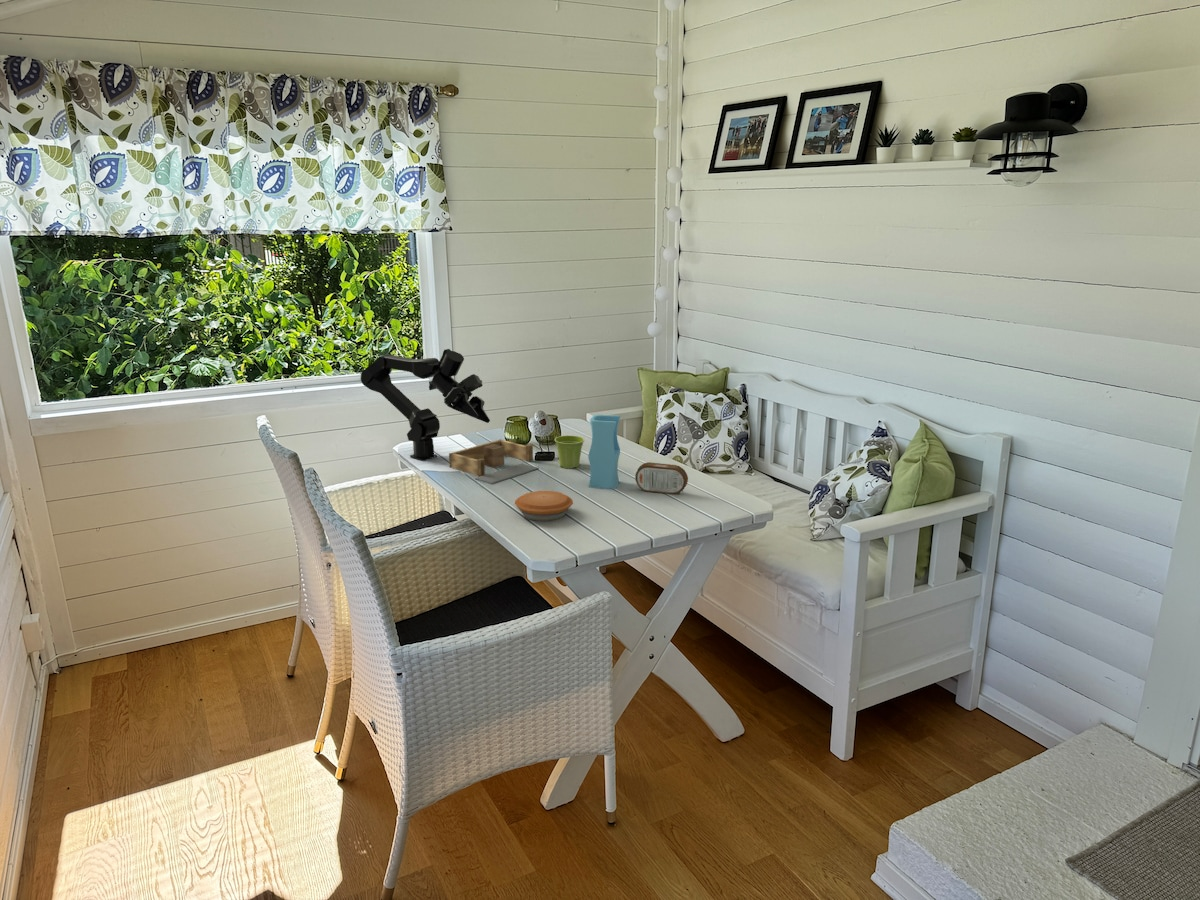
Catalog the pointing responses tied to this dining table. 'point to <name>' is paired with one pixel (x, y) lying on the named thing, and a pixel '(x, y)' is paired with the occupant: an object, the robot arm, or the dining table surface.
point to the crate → (474, 456)
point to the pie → (543, 505)
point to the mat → (506, 473)
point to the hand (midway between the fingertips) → (483, 419)
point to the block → (494, 455)
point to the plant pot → (569, 450)
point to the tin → (661, 478)
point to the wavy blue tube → (604, 452)
